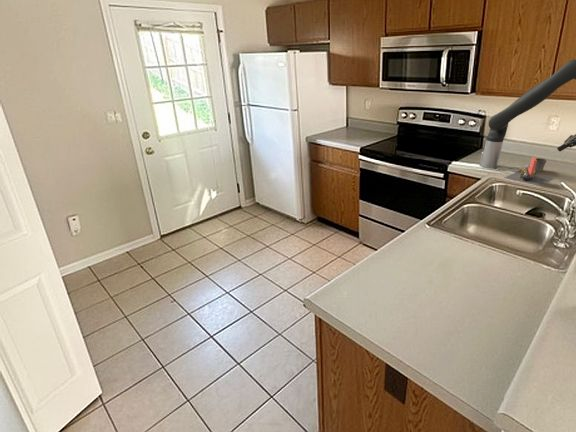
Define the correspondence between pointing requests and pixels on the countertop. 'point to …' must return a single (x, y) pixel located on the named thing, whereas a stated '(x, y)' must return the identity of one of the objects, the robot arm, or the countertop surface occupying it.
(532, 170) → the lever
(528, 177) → the valve body
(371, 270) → the countertop surface
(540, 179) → the mat
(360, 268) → the countertop surface
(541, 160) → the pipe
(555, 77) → the robot arm
